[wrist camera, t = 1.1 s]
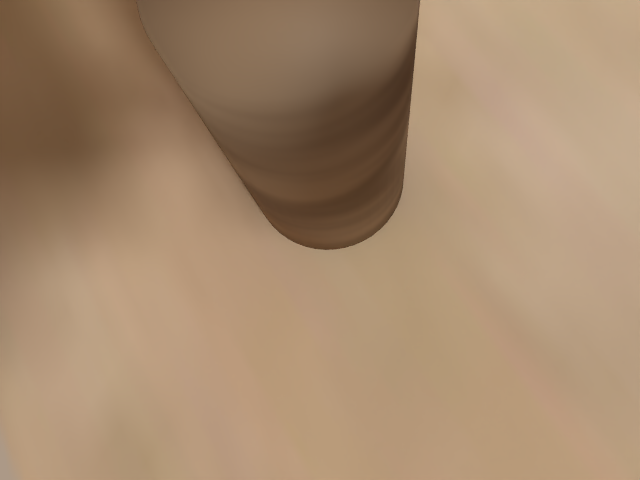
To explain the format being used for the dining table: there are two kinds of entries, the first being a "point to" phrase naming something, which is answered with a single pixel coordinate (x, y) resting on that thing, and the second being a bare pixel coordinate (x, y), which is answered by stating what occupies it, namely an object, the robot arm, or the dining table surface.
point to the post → (300, 102)
